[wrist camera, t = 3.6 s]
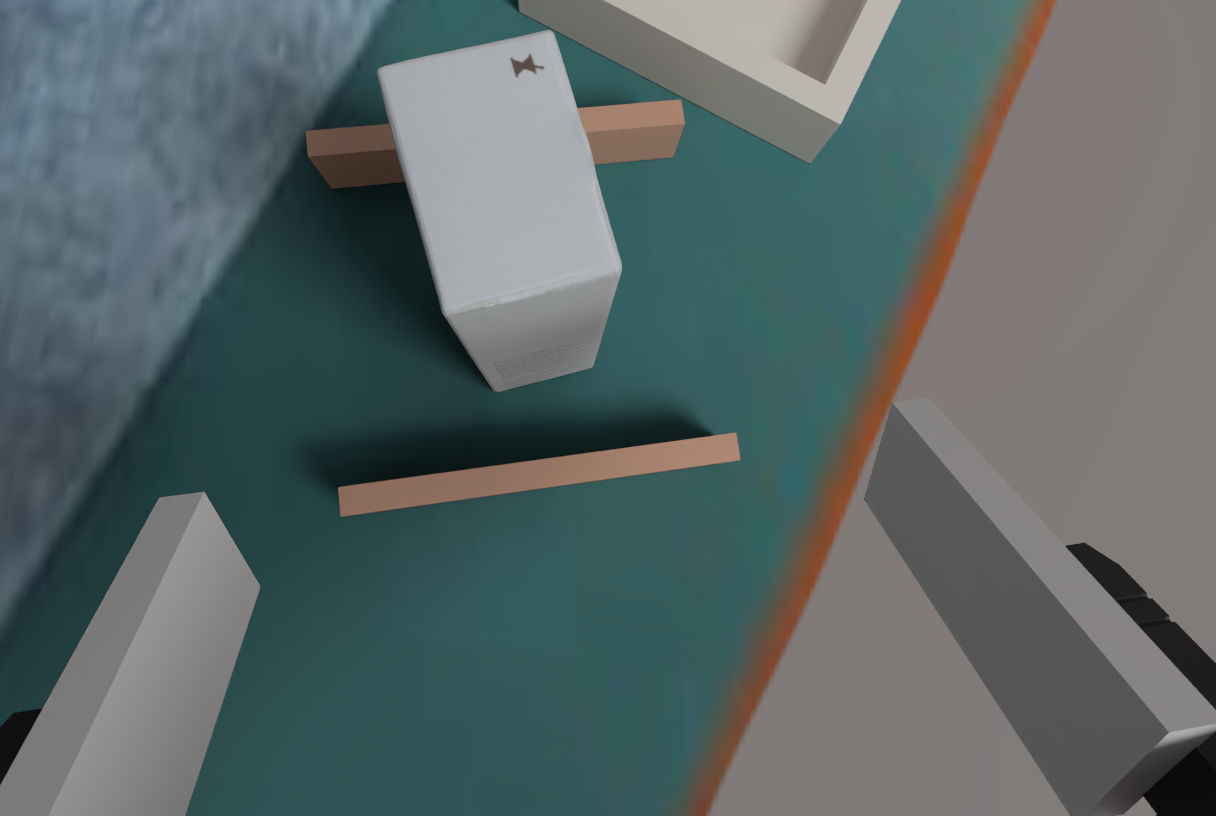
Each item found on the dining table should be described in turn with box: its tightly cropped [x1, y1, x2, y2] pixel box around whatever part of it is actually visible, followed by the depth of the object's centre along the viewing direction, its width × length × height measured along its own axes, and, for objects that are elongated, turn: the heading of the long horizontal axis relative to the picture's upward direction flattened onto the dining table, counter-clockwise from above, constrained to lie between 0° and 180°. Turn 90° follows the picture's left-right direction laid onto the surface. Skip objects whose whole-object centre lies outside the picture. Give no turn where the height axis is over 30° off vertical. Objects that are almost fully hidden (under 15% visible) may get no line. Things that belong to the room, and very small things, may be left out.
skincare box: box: [377, 30, 622, 392], centre depth 20 cm, size 6×4×12 cm
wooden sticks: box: [306, 100, 740, 517], centre depth 25 cm, size 14×14×2 cm
